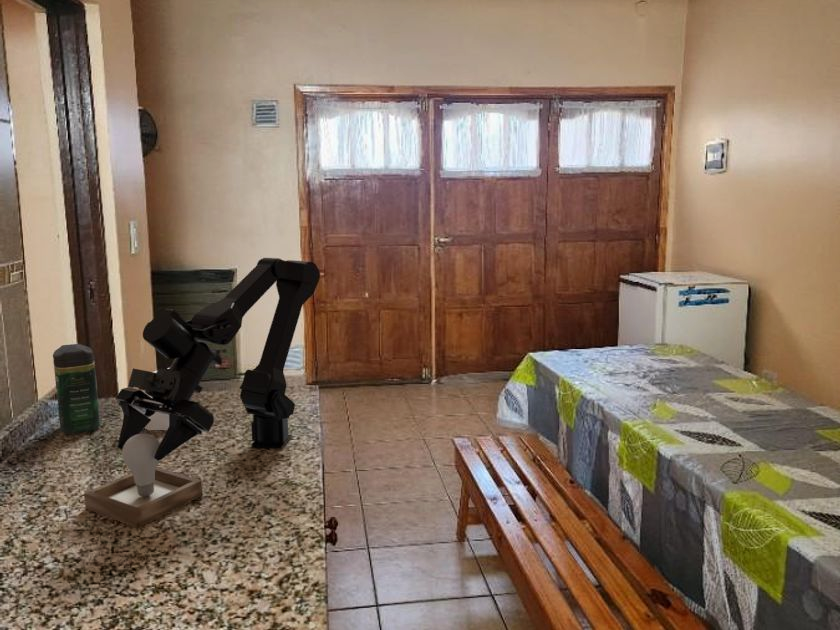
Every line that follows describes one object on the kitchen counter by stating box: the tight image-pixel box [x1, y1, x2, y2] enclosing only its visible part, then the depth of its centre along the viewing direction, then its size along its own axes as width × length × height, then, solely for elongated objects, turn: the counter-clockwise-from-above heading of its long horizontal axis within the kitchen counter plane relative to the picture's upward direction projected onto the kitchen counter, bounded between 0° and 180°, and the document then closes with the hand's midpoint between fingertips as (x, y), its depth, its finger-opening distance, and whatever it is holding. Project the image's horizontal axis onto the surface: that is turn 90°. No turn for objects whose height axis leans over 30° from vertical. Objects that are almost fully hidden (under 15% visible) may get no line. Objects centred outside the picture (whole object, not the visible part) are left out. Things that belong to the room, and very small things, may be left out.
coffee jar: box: [52, 343, 101, 435], centre depth 148 cm, size 10×8×19 cm
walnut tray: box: [83, 466, 203, 529], centre depth 114 cm, size 13×13×3 cm
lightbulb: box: [121, 432, 161, 497], centre depth 112 cm, size 6×6×11 cm
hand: (137, 454), depth 112 cm, fingers open, 9 cm apart
